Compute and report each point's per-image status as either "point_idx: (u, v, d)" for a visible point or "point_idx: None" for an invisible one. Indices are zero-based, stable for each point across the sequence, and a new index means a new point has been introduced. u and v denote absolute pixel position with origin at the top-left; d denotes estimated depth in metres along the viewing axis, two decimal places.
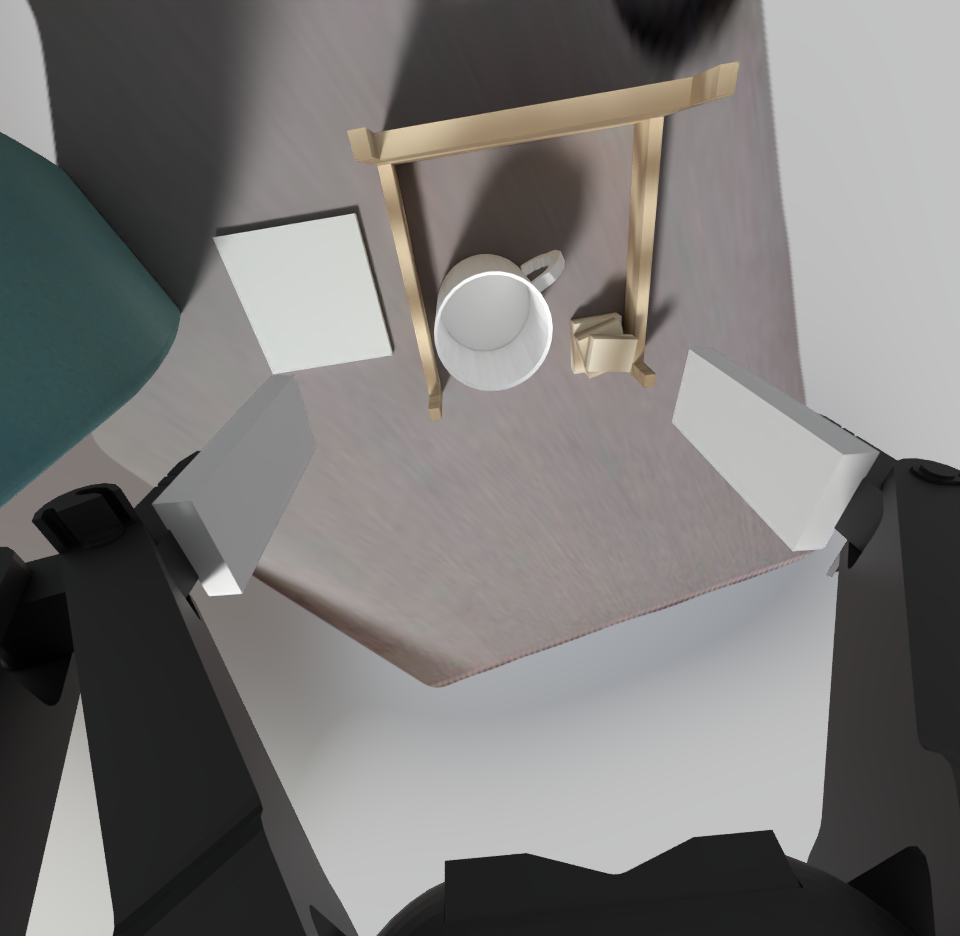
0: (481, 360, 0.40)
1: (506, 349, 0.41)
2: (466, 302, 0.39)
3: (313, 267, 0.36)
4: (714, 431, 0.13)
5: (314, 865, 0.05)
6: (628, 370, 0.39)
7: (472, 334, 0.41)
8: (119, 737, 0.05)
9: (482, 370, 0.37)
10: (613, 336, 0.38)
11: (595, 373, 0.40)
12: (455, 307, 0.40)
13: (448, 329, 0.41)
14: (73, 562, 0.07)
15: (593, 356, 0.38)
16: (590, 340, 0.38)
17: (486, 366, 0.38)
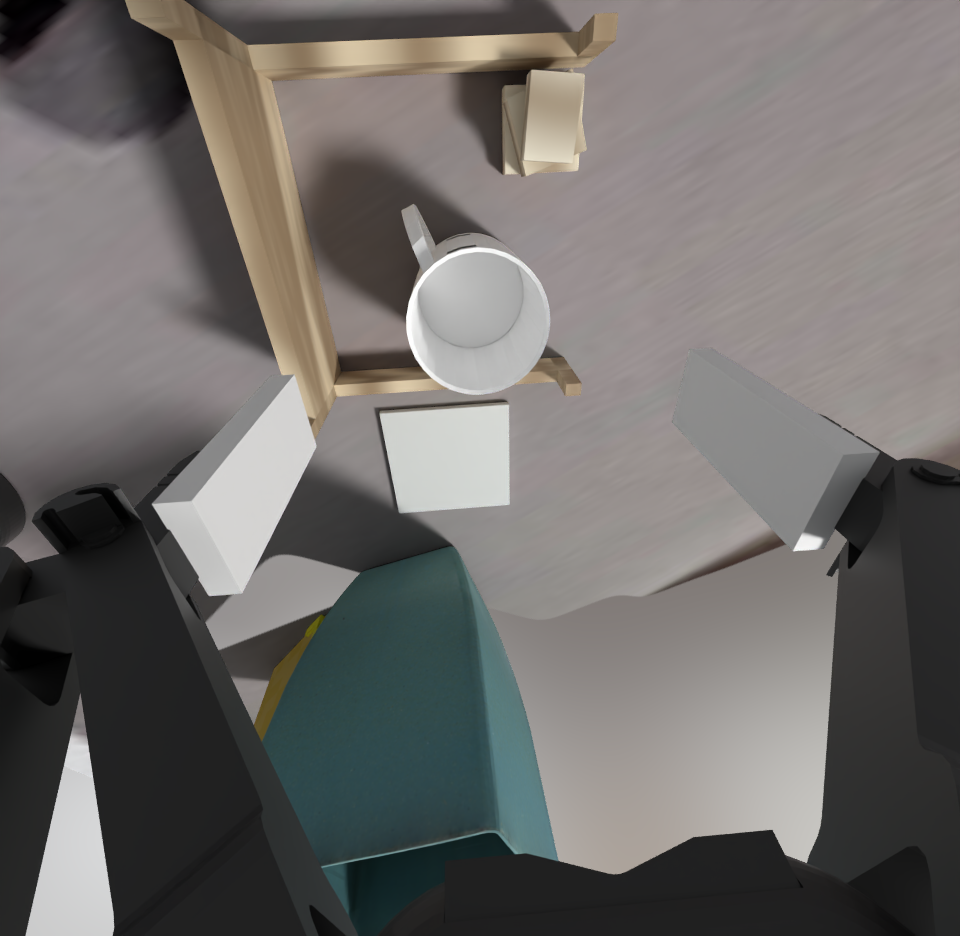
0: (526, 315, 0.32)
1: (522, 275, 0.32)
2: (464, 317, 0.35)
3: (422, 454, 0.41)
4: (714, 431, 0.13)
5: (314, 865, 0.05)
6: (582, 78, 0.23)
7: (500, 313, 0.35)
8: (119, 737, 0.05)
9: (532, 326, 0.30)
10: (525, 117, 0.25)
11: (580, 138, 0.26)
12: (468, 330, 0.36)
13: (491, 341, 0.36)
14: (73, 562, 0.07)
15: (550, 156, 0.25)
16: (527, 160, 0.26)
17: (531, 316, 0.31)
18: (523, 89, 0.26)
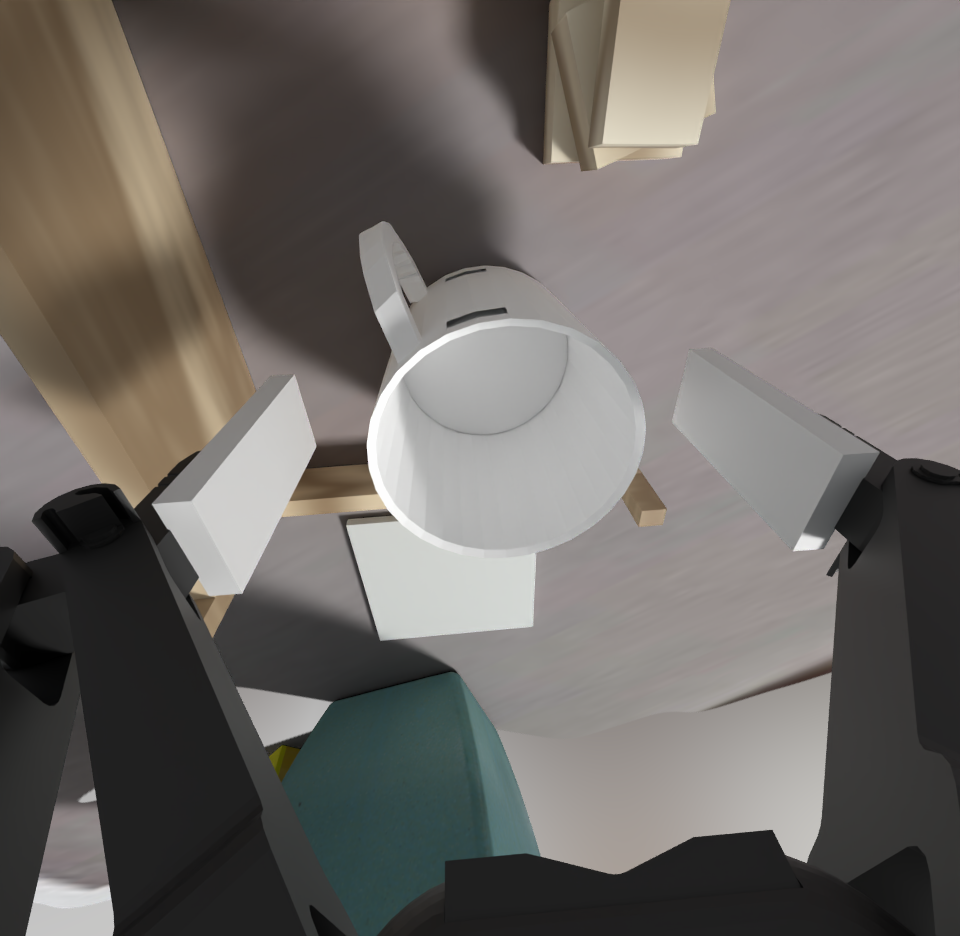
0: (577, 399, 0.20)
1: None
2: (474, 392, 0.22)
3: (411, 573, 0.29)
4: (714, 431, 0.13)
5: (314, 865, 0.05)
6: None
7: (530, 386, 0.22)
8: (119, 737, 0.05)
9: (593, 427, 0.18)
10: (605, 57, 0.12)
11: None
12: (480, 411, 0.23)
13: (514, 425, 0.24)
14: (73, 562, 0.07)
15: (654, 133, 0.13)
16: (605, 146, 0.13)
17: (588, 406, 0.18)
18: None
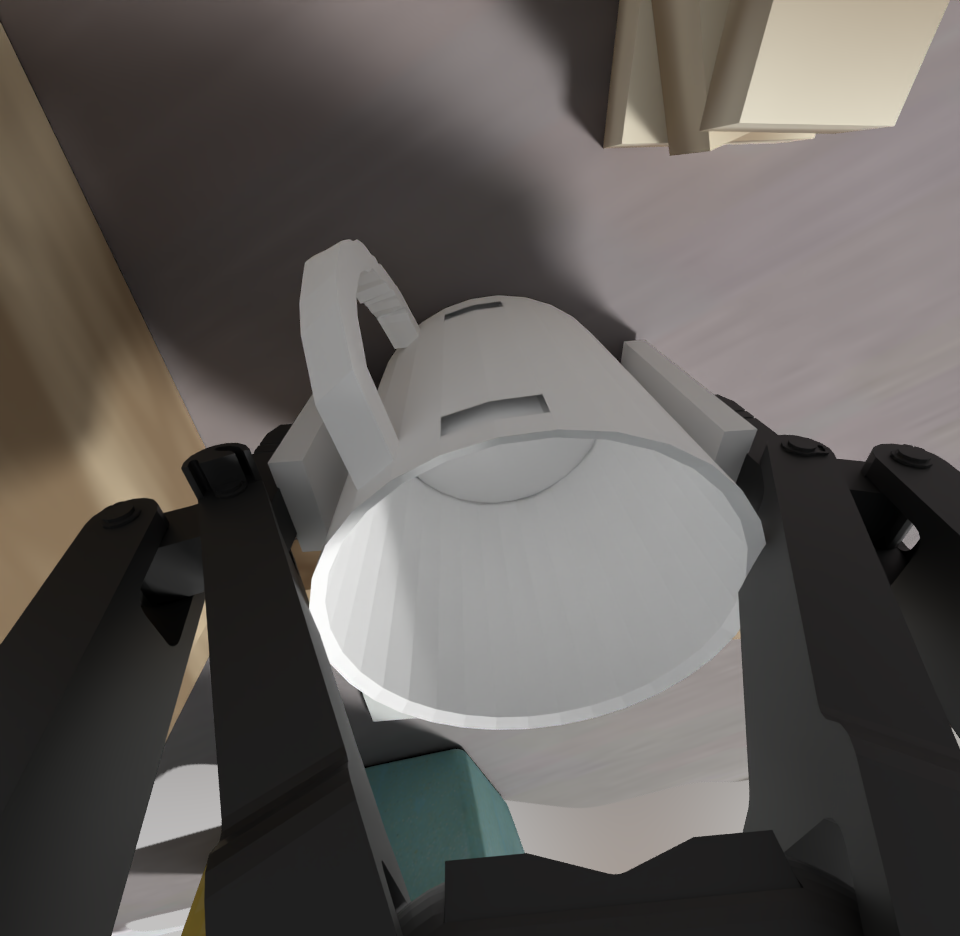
0: (621, 474, 0.15)
1: None
2: (482, 453, 0.17)
3: None
4: None
5: (379, 823, 0.05)
6: None
7: (555, 446, 0.17)
8: (234, 667, 0.05)
9: (650, 527, 0.13)
10: None
11: None
12: (489, 475, 0.18)
13: (532, 492, 0.18)
14: (207, 508, 0.08)
15: (827, 106, 0.08)
16: (733, 128, 0.08)
17: (642, 492, 0.13)
18: None
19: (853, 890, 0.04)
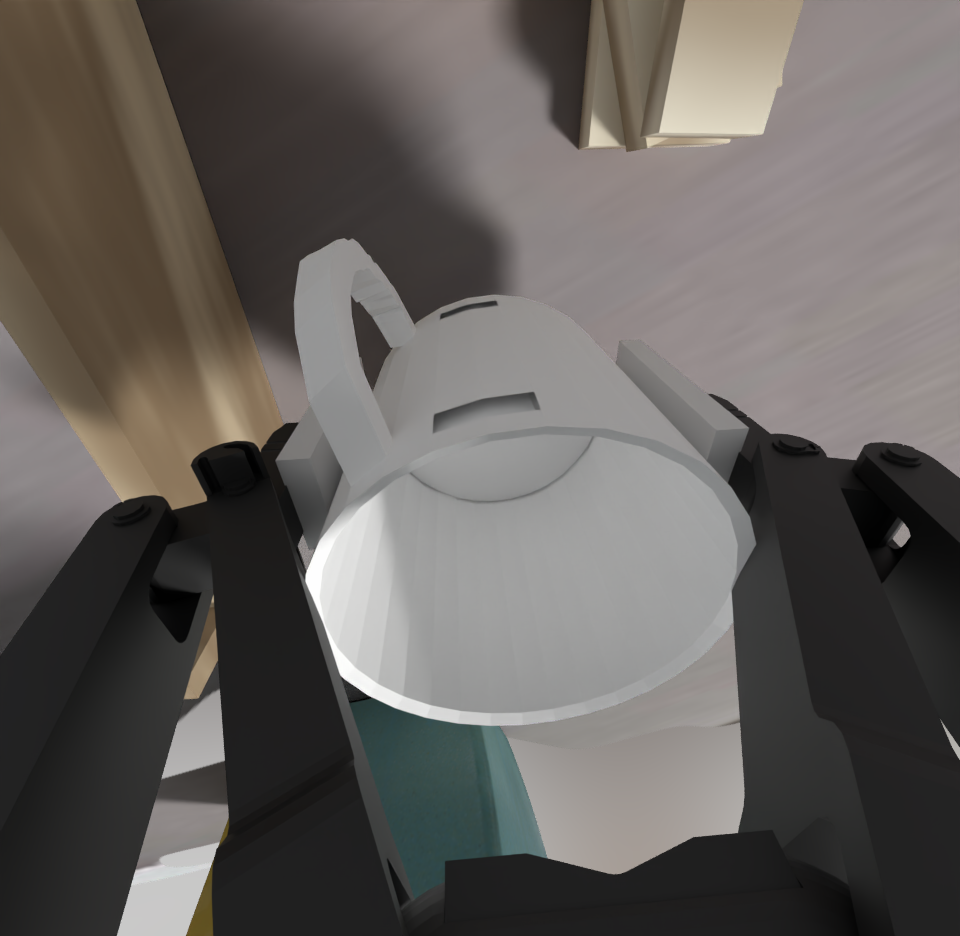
0: (616, 472, 0.15)
1: None
2: (478, 452, 0.17)
3: None
4: None
5: (384, 821, 0.05)
6: None
7: (551, 444, 0.17)
8: (241, 663, 0.05)
9: (644, 525, 0.13)
10: (667, 37, 0.11)
11: None
12: (486, 474, 0.18)
13: (529, 490, 0.19)
14: (216, 505, 0.08)
15: (716, 122, 0.12)
16: (660, 135, 0.12)
17: (636, 491, 0.13)
18: None
19: None
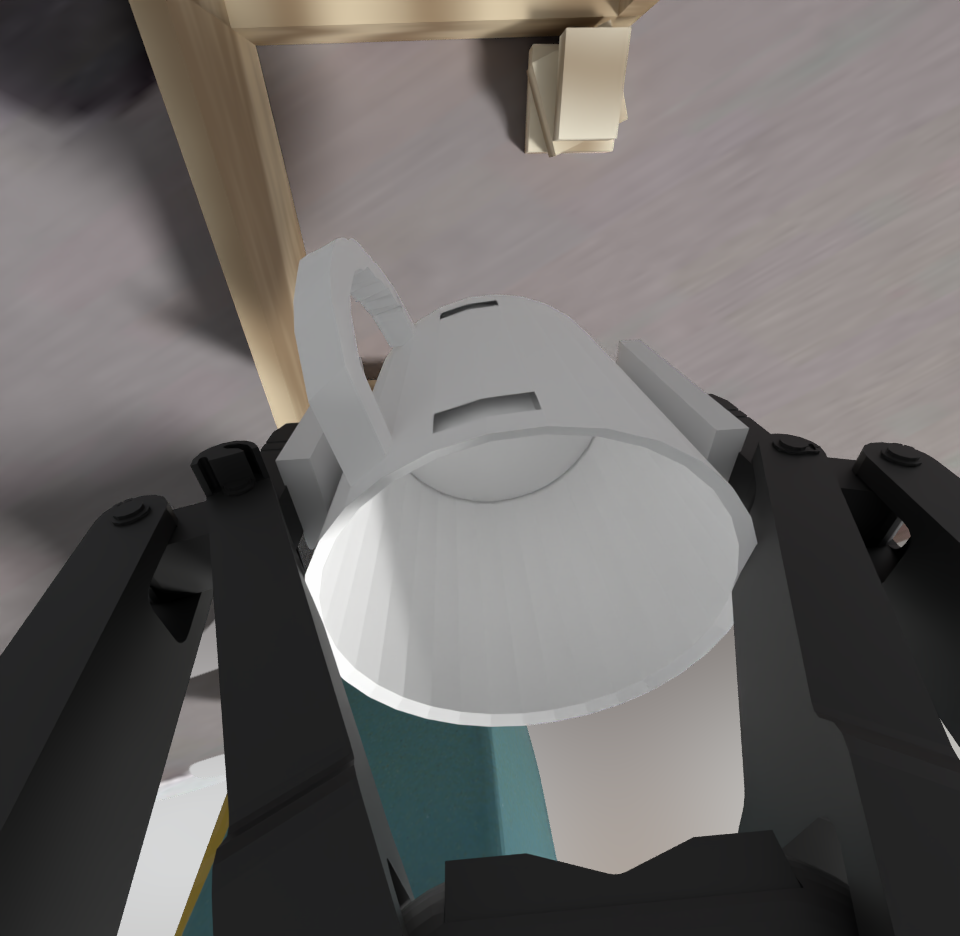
0: (617, 473, 0.15)
1: None
2: (478, 452, 0.17)
3: None
4: None
5: (384, 821, 0.05)
6: (627, 33, 0.19)
7: (551, 444, 0.17)
8: (241, 663, 0.05)
9: (645, 525, 0.13)
10: (559, 88, 0.21)
11: None
12: (486, 474, 0.18)
13: (529, 490, 0.19)
14: (216, 505, 0.08)
15: (589, 132, 0.21)
16: (562, 140, 0.22)
17: (637, 491, 0.13)
18: (555, 49, 0.22)
19: None
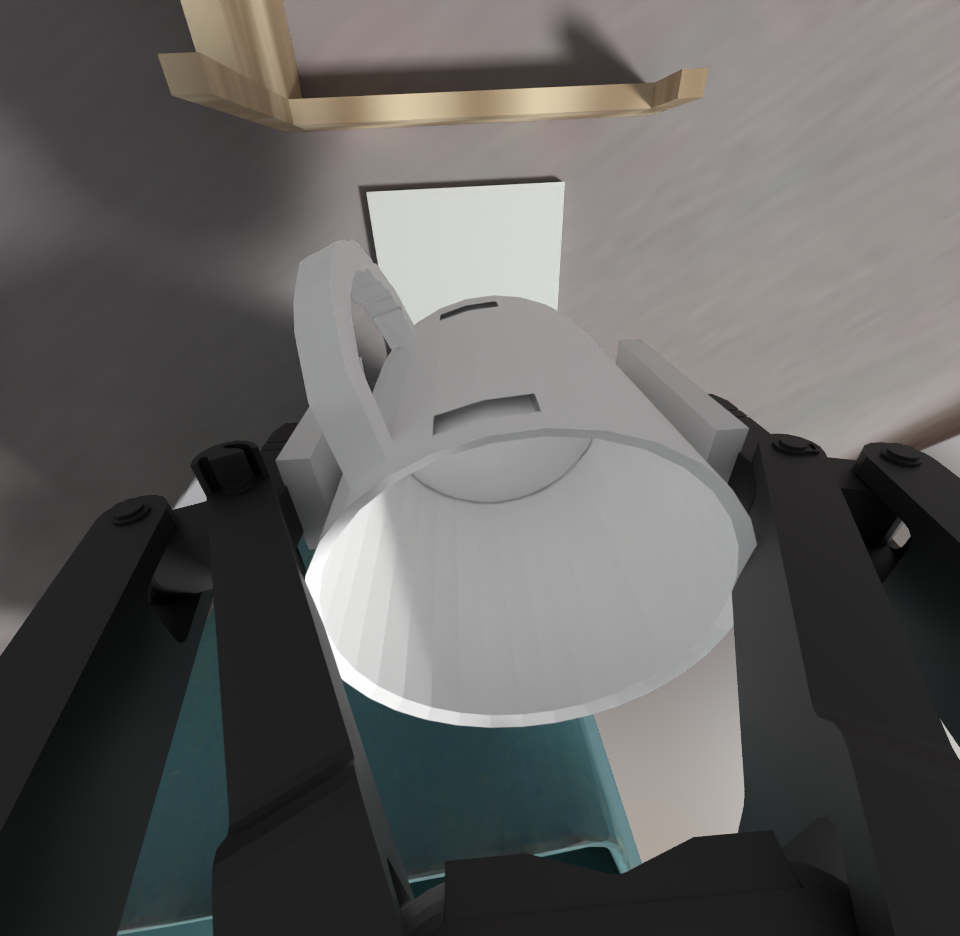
0: (617, 473, 0.15)
1: None
2: (478, 453, 0.17)
3: (431, 274, 0.28)
4: None
5: (384, 821, 0.05)
6: None
7: (551, 445, 0.17)
8: (241, 663, 0.05)
9: (644, 526, 0.13)
10: None
11: None
12: (486, 474, 0.18)
13: (529, 491, 0.19)
14: (215, 505, 0.08)
15: None
16: None
17: (637, 492, 0.13)
18: None
19: None
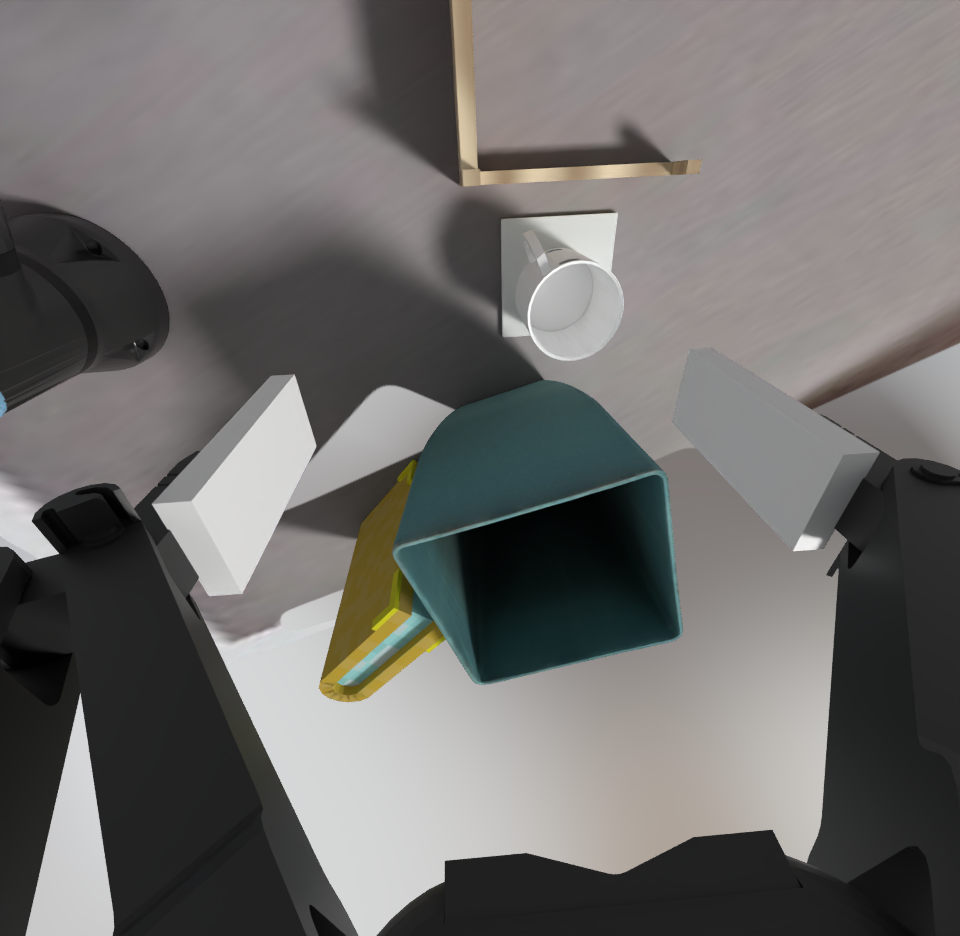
0: (597, 307, 0.45)
1: (595, 278, 0.45)
2: (548, 308, 0.48)
3: None
4: (714, 431, 0.13)
5: (314, 865, 0.05)
6: None
7: (574, 305, 0.48)
8: (119, 737, 0.05)
9: (604, 314, 0.43)
10: None
11: None
12: (550, 318, 0.48)
13: (565, 326, 0.49)
14: (73, 562, 0.07)
15: None
16: None
17: (602, 307, 0.44)
18: None
19: (854, 891, 0.04)
